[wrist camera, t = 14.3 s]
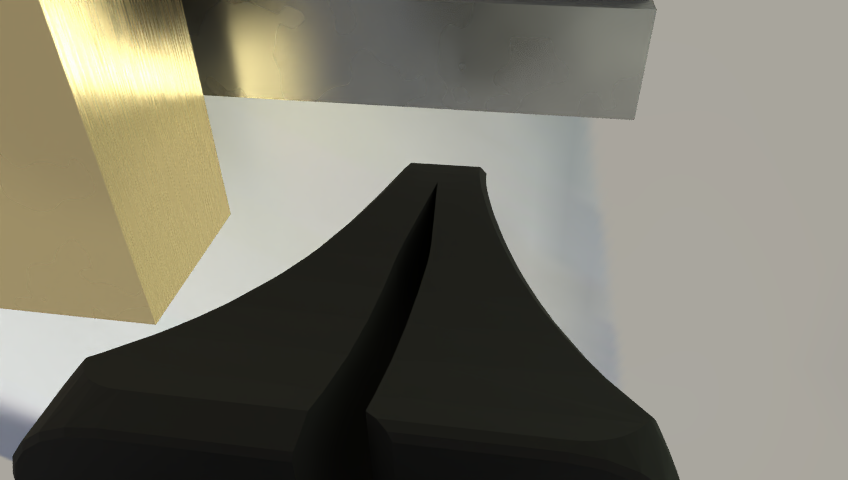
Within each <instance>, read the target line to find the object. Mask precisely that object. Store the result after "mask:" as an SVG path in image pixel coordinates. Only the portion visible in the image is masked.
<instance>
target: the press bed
mask: <svg viewBox="0 0 848 480" xmlns="http://www.w3.org/2000/svg"><path fill="white" fill-rule="evenodd" d="M181 1H182V5H183V9H184V14H185V18H186V22H187V27H188V31H189V35H190V40H191V44H192V49H193V53H194V57H195V62H196V66H197V70H198V75H199V79H200V83H201V88H202V92H203V95H211V96H228V97H246V98H263V99H280V100H298V101H315V102H333V103H350V104H367V105H385V106H402V107H419V108H437V109H454V110H471V111H489V112H506V113H523V114H541V115H558V116H575V117H593V118H610V119H629V120H634V118H635V113H636V108H637V103H638V98H639V93H640V89H641V84H642V78H643V73H644V69H645V64H646V59H647V54H648V49H649V44H650V39H651V34H652V30H653V24H654V20H655V15H656V10H657V9H656V7H655V5H654V2H653V0H181Z"/></svg>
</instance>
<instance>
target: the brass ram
mask: <svg viewBox="0 0 848 480" xmlns="http://www.w3.org/2000/svg"><path fill="white" fill-rule="evenodd" d="M230 214H231V213H230V209H229V205H228V200H227V196H226V192H225V187H224V183H223V179H222V174H221V170H220V166H219V161H218V157H217V153H216V148H215V144H214V140H213V135H212V131H211V127H210V122H209V118H208V114H207V109H206V105H205V101H204V96H203V92H202V88H201V83H200V79H199V75H198V70H197V66H196V62H195V57H194V53H193V49H192V44H191V40H190V35H189V31H188V27H187V22H186V18H185V14H184V9H183V5H182V1H181V0H0V308H3V309H12V310H22V311H31V312H41V313H50V314H60V315H69V316H79V317H88V318H98V319H107V320H117V321H126V322H136V323H145V324H155V325H156V324H157V322H158V321H159V319H160V318H161V316H162V315H163V313H164V312H165V310H166V309H167V307H168V306H169V304H170V303H171V301H172V300H173V298H174V297H175V296H176V294H177V293H178V291H179V290H180V288H181V287H182V285H183V284H184V282H185V281H186V279H187V278H188V276H189V275H190V273H191V272H192V270H193V269H194V267H195V266H196V265H197V263H198V262H199V260H200V259H201V257H202V256H203V254H204V253H205V251H206V250H207V248H208V247H209V245H210V244H211V242H212V241H213V239H214V238H215V236H216V235H217V234H218V232H219V231H220V229H221V228H222V226H223V225H224V223H225V222H226V220H227V219H228V217H229V216H230Z"/></svg>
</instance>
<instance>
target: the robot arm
mask: <svg viewBox="0 0 848 480" xmlns="http://www.w3.org/2000/svg"><path fill="white" fill-rule="evenodd" d="M13 475H14V478H15V480H680V479H679V476H678V474H677V470H676V468H675V465H674V462H673V460H672V457H671V455H670V452H669V449H668V447H667V445H666V443H665V440H664V438H663V435H662V433H661V431H660V429H659V426H658V424H657V422H656V420H655V419H654V418H653V417H652V416H650V415H649V414H648V413H647V412H646V411H644V410H643V409H642V408H641V407H639V406H638V405H637V404H636V403H635V402H634V401H632V400H631V399H630V398H629V397H628V396H626V395H625V394H624V393H623V392H622V391H620V390H619V389H618V388H617V387H616V386H614V385H613V384H612V383H611V382H610V381H608V380H607V379H606V378H605V377H604V376H603V375H602V374H601V373H600V372H599V371H598V370H597V369H596V368H595V367H594V366H593V365H592V364H591V363H590V362H589V361H588V360H587V359H586V358H585V357H584V356H583V355H582V353H581V352H580V351H579V350H578V349H577V348H576V347H575V345H574V344H573V343H572V342H571V341H570V340H569V338H568V337H567V336H566V335H565V334H564V333H563V332H562V330H561V329H560V328H559V327H558V326H557V325H556V324H555V322H554V321H553V320H552V318H551V317H550V316H549V314H548V313H547V312H546V310H545V309H544V307H543V306H542V305H541V303H540V302H539V301H538V299H537V298H536V296H535V294H534V293H533V291H532V290H531V288H530V287H529V285H528V284H527V282H526V280H525V279H524V277H523V275H522V274H521V272H520V270H519V268H518V267H517V265H516V263H515V261H514V259H513V257H512V255H511V253H510V251H509V249H508V247H507V245H506V243H505V241H504V239H503V236H502V234H501V231H500V229H499V226H498V224H497V221H496V219H495V216H494V213H493V210H492V207H491V204H490V200H489V197H488V192H487V187H486V173H485V172H484V171H483V169H482V168H481V167H470V166H453V165H437V164H421V163H411V164H409V165H408V166H407V167H406V168H405V169H404V170H403V171H402V172H401V173H400V174H399V175H398V176H397V177H396V178H395V179H394V180H393V181H392V182H391V183H390V184H389V185H388V186H387V187H386V188H385V189H384V190H383V191H382V192H381V193H380V194H379V195H378V196H377V197H376V198H375V199H374V200H373V201H372V202H371V203H370V204H369V205H368V206H367V207H366V208H365V209H364V210H363V211H362V212H361V213H360V214H358V215H357V216H356V217H355V218H354V219H353V220H352V221H351V222H350V223H349V224H348V225H346V226H345V227H344V228H343V229H342V230H340V231H339V232H338V233H337V234H335V235H334V236H333V237H332V238H331V239H329V240H328V241H327V242H326V243H325V244H323V245H322V246H321V247H320V248H318V249H317V250H316V251H314V252H313V253H311V254H310V255H309V256H307V257H306V258H304V259H303V260H301V261H300V262H298V263H297V264H295V265H294V266H292V267H291V268H289V269H288V270H286V271H285V272H283V273H282V274H280V275H278V276H277V277H275V278H273V279H271V280H270V281H268V282H266V283H264V284H262V285H260V286H259V287H257V288H255V289H253V290H251V291H249V292H248V293H246V294H244V295H242V296H240V297H238V298H237V299H235V300H233V301H231V302H229V303H227V304H225V305H223V306H221V307H219V308H217V309H214V310H212V311H210V312H208V313H206V314H204V315H201V316H199V317H197V318H194V319H192V320H190V321H187V322H185V323H183V324H180V325H178V326H175V327H173V328H170V329H168V330H165V331H163V332H160V333H158V334H155V335H152V336H149V337H146V338H143V339H141V340H138V341H135V342H132V343H129V344H126V345H123V346H120V347H117V348H115V349H112V350H109V351H106V352H103V353H100V354H97V355H93V356H90V357H87V358H86V359H85V360H84V361H83V362H82V363H81V364H80V366H79V367H78V368H77V369H76V371H75V372H74V373H73V374H72V376H71V377H70V378H69V379H68V381H67V382H66V383H65V384H64V386H63V387H62V388H61V390H60V391H59V392H58V394H57V395H56V396H55V398H54V399H53V400H52V402H51V403H50V404H49V406H48V407H47V408H46V410H45V411H44V412H43V414H42V415H41V416H40V418H39V419H38V420H37V422H36V423H35V424H34V426H33V427H32V428H31V430H30V431H29V432H28V434H27V435H26V436H25V438H24V439H23V440H22V442H21V443H20V445H19V446H18V448H17V450H16V451H15V453H14V455H13Z"/></svg>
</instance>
